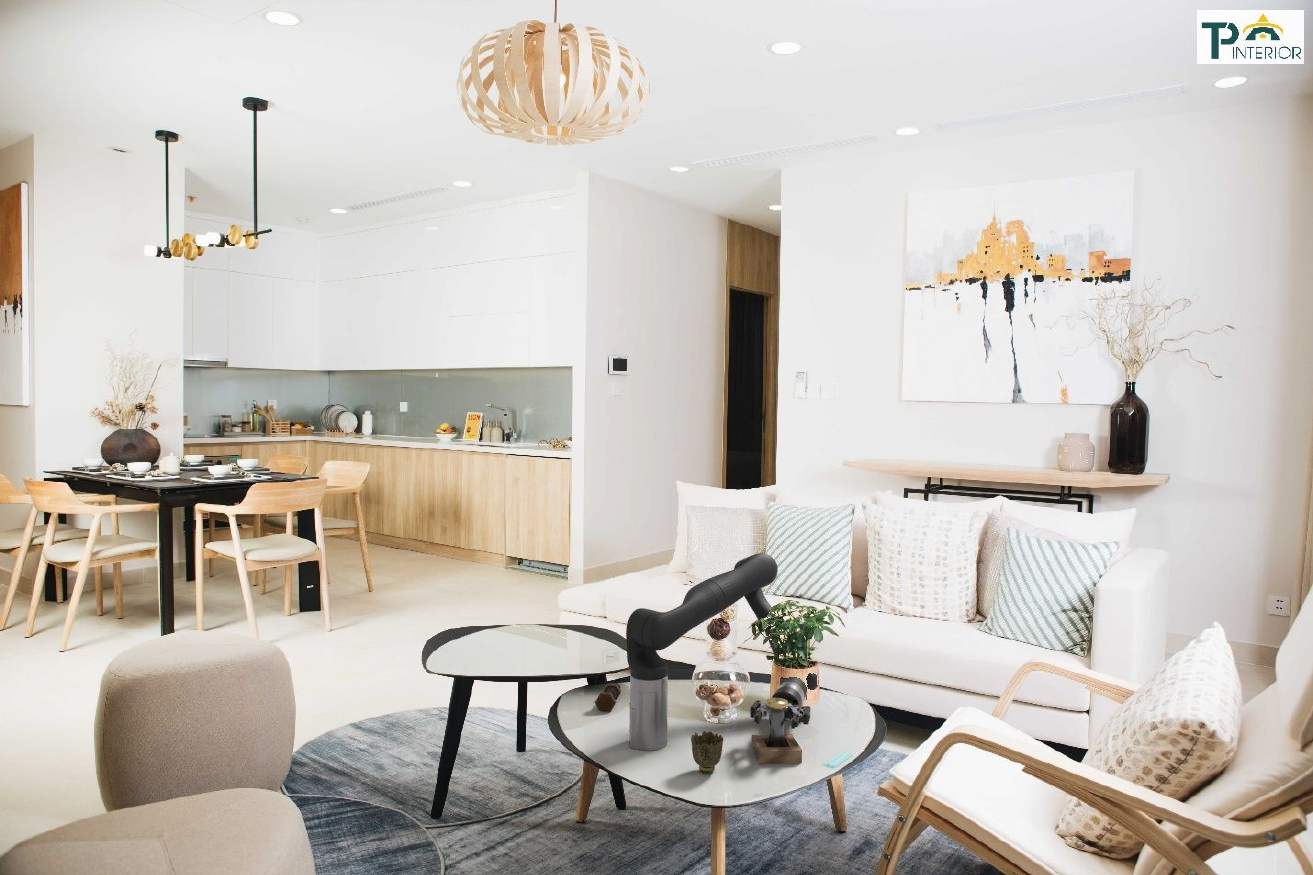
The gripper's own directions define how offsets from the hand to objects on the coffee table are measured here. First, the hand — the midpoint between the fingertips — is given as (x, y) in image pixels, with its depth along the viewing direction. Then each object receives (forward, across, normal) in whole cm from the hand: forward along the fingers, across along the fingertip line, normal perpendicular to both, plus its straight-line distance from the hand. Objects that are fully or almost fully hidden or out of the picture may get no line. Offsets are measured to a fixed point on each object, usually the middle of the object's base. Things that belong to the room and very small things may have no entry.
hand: (775, 722), depth 210 cm
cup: (+13, -13, +9) cm, 20 cm away
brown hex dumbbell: (-22, -51, +9) cm, 56 cm away
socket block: (-2, 0, +8) cm, 9 cm away
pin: (-2, 0, +8) cm, 9 cm away
